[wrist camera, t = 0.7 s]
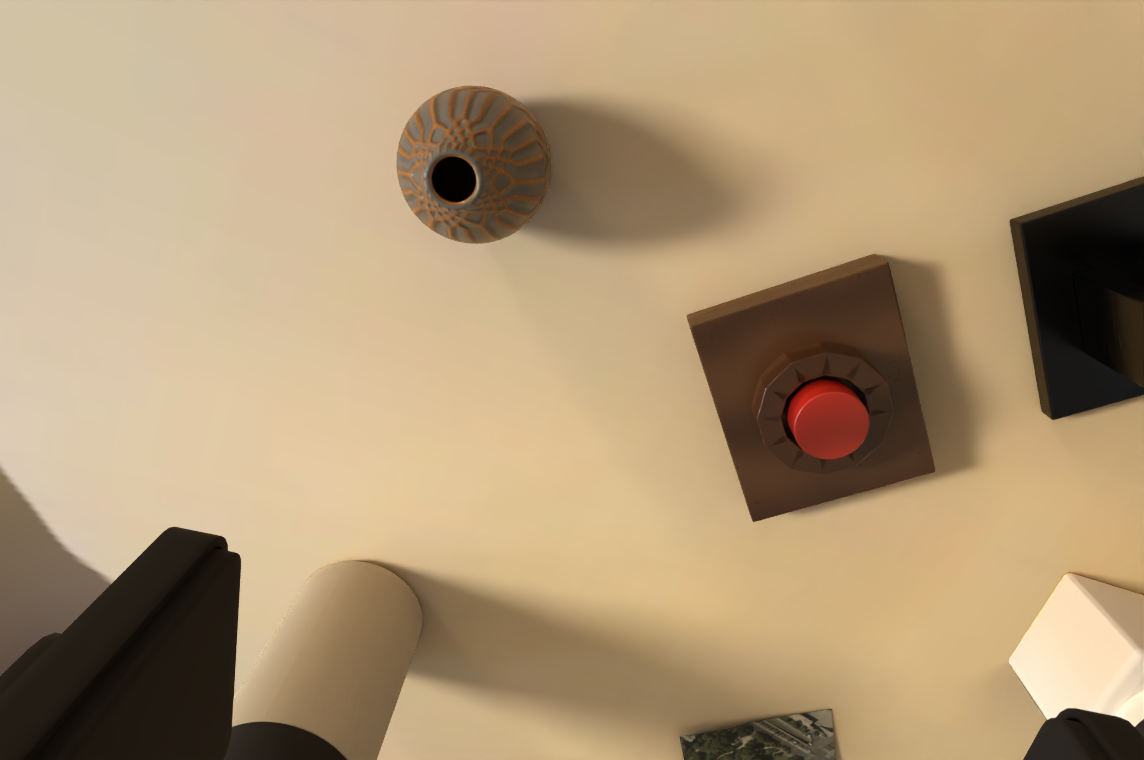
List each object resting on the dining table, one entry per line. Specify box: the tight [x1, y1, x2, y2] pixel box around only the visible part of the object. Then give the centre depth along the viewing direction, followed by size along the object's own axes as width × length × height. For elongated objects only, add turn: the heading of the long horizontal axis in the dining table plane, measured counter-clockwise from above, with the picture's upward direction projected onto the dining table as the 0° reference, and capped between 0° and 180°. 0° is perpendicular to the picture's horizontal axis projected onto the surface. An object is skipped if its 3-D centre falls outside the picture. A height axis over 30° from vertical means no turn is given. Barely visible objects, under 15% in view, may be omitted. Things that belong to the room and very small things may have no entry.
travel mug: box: [224, 561, 423, 760], centre depth 41 cm, size 8×8×18 cm
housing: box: [687, 254, 935, 522], centre depth 41 cm, size 12×10×4 cm
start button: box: [787, 380, 870, 459], centre depth 39 cm, size 4×4×2 cm
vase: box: [397, 86, 551, 244], centre depth 35 cm, size 7×7×9 cm
